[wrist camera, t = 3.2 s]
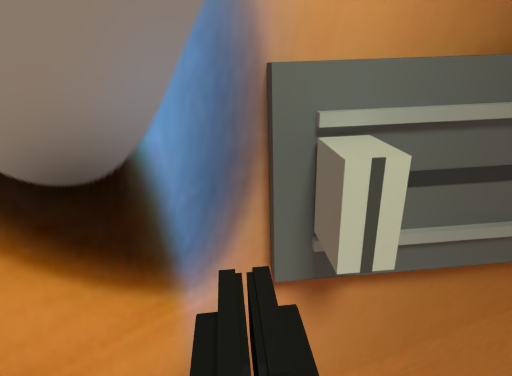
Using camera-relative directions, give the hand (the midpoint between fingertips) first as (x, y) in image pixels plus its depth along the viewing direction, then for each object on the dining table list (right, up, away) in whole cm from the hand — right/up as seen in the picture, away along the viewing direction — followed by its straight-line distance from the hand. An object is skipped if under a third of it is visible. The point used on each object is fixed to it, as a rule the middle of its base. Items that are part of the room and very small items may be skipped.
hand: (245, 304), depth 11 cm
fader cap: (+5, +4, +8) cm, 11 cm away
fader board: (+15, +6, +11) cm, 20 cm away
